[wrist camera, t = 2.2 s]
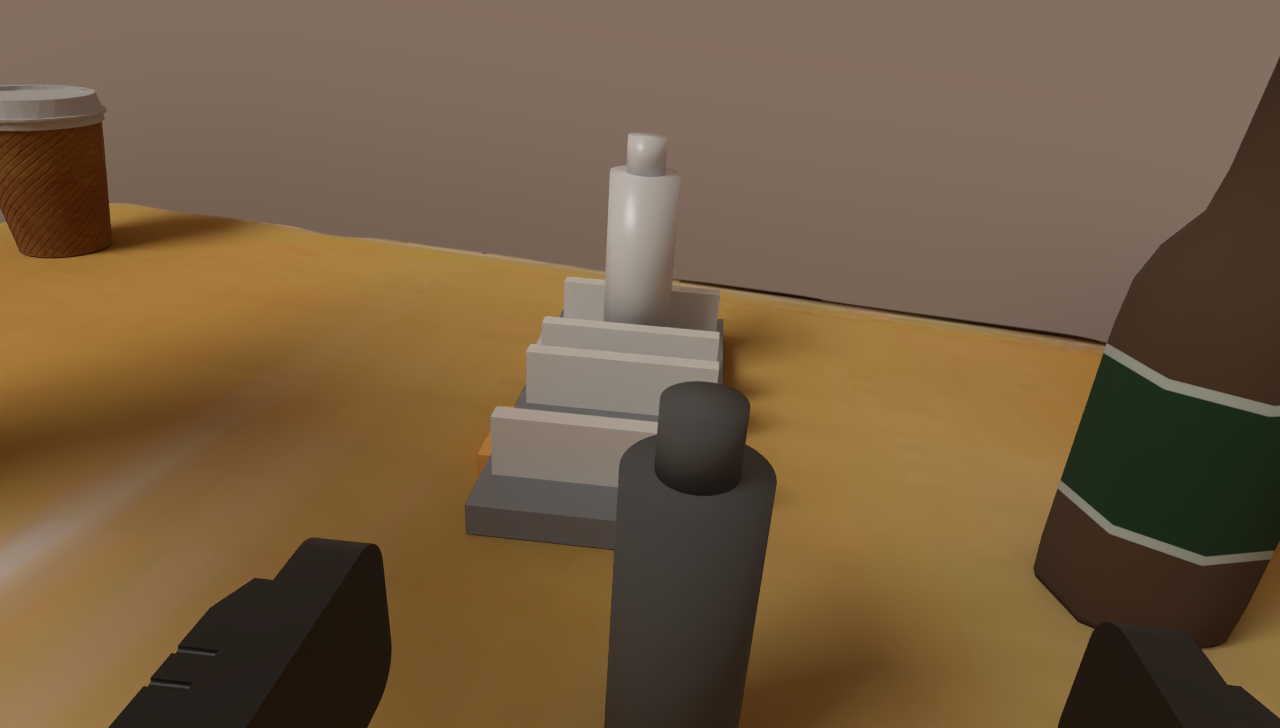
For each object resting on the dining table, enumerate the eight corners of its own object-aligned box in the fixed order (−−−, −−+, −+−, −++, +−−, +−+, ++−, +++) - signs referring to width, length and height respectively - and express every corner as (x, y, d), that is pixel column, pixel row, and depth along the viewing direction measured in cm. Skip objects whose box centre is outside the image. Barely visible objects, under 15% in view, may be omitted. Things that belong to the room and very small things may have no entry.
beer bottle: (1176, 691, 29) (1529, -49, 19) (989, 568, 35) (1181, -51, 25) (1267, 615, 33) (1598, -28, 23) (1086, 516, 39) (1286, -34, 29)
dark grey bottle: (575, 770, 25) (588, 399, 19) (657, 694, 28) (689, 352, 22) (676, 856, 23) (725, 465, 17) (754, 765, 25) (817, 403, 20)
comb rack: (718, 560, 34) (729, 472, 32) (452, 531, 35) (448, 443, 33) (720, 339, 56) (727, 278, 54) (556, 324, 57) (557, 263, 55)
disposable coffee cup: (-38, 254, 62) (-89, 92, 57) (71, 224, 70) (35, 80, 65) (62, 271, 60) (18, 105, 55) (162, 238, 68) (132, 91, 63)
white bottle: (588, 349, 49) (596, 133, 44) (630, 332, 52) (643, 127, 47) (637, 370, 47) (652, 145, 42) (679, 351, 50) (698, 138, 44)
